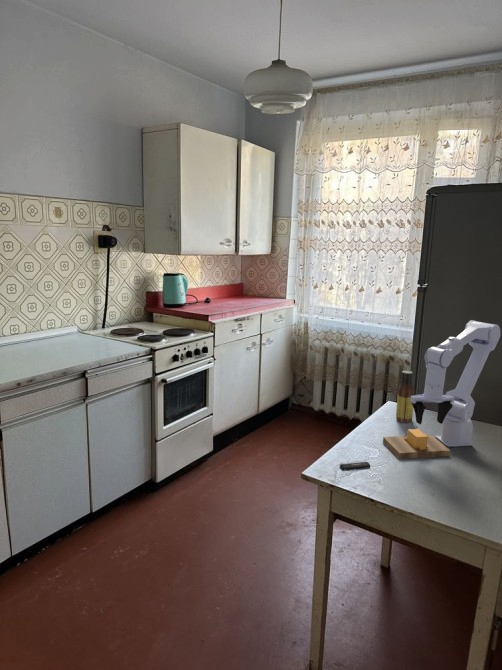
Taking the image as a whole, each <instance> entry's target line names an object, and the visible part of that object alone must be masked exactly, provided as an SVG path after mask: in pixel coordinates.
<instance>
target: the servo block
mask: <svg viewBox="0 0 502 670" xmlns="http://www.w3.org/2000/svg"><path fill="white" fill-rule="evenodd" d="M427 435H428V434H426V433H424V432H423V431H422V430H421V429H419V428H416V429H415V428H414V429H413V428H411V429H410V428H409V429H407V434H406V436H407V441H406V442H407V443H408V444H410V445H411V446H412V447H413V448H414V449H419V450H426V448H427V439H428V436H427Z"/></svg>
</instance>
